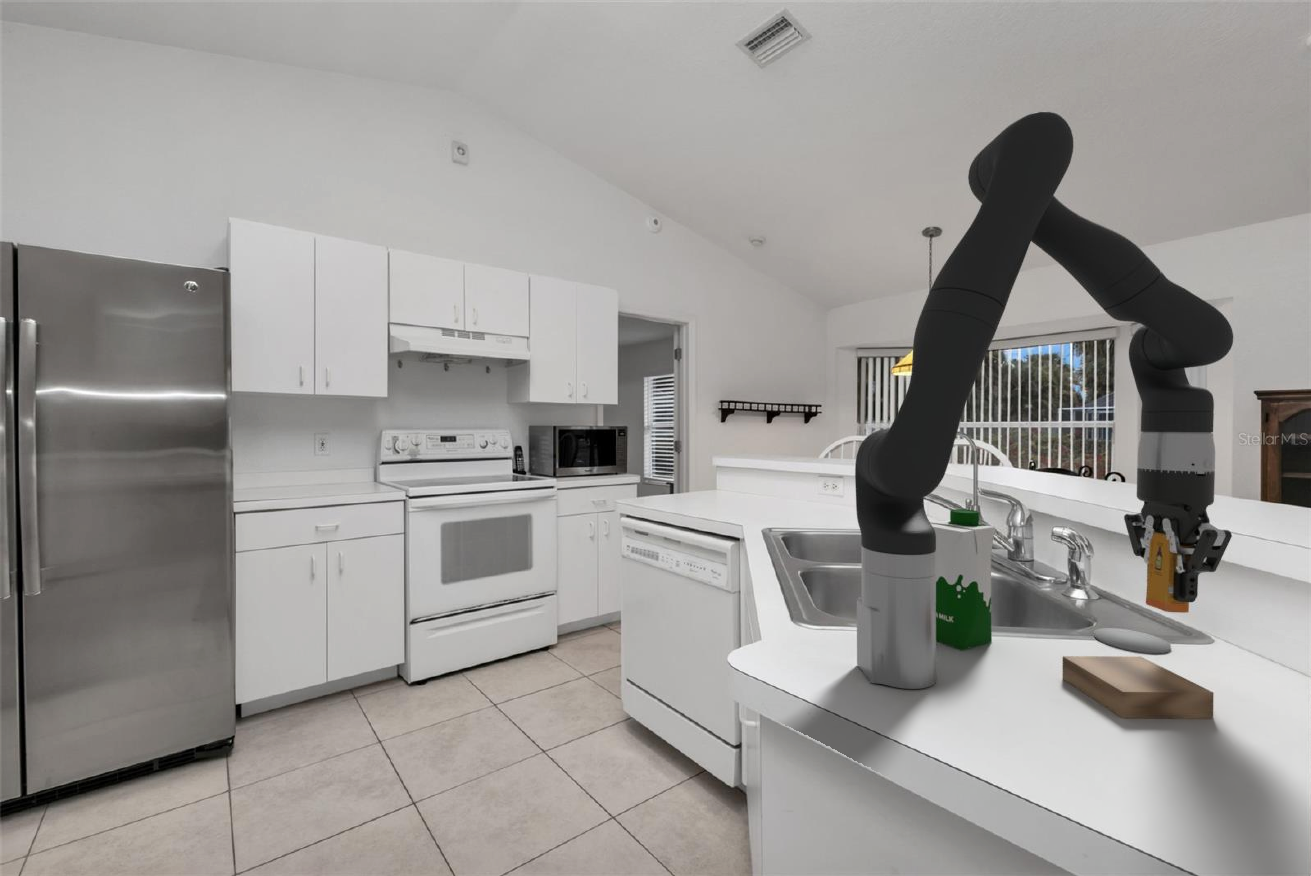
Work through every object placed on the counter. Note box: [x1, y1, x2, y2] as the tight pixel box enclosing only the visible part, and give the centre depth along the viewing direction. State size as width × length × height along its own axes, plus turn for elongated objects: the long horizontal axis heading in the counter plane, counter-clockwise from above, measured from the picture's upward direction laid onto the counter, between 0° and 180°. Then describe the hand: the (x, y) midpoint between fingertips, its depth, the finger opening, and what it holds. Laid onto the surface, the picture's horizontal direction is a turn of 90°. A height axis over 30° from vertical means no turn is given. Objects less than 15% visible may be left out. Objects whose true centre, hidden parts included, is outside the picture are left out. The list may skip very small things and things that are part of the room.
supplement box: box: [1145, 532, 1192, 614], centre depth 74 cm, size 3×3×10 cm
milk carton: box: [929, 508, 996, 651], centre depth 88 cm, size 9×9×20 cm
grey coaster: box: [1093, 627, 1172, 654], centre depth 87 cm, size 9×9×1 cm
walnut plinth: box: [1062, 655, 1214, 720], centre depth 69 cm, size 10×10×3 cm
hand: (1171, 596), depth 74 cm, fingers closed on supplement box, 3 cm apart
